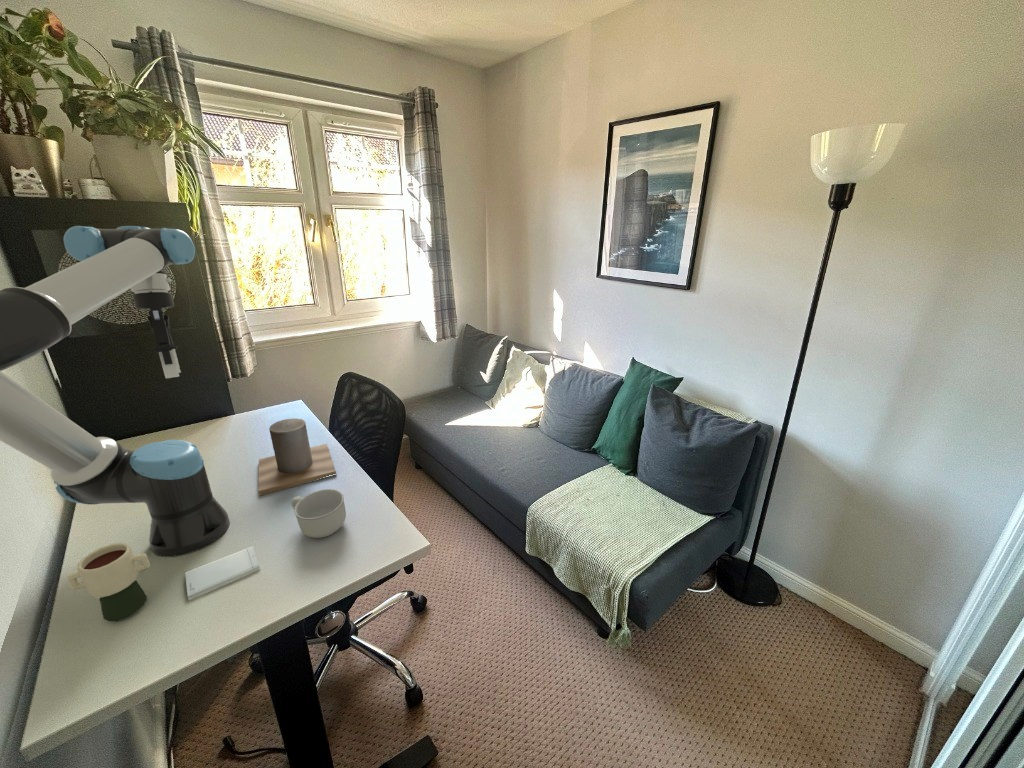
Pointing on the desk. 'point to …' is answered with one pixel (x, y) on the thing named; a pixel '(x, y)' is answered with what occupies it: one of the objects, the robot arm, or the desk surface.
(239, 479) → the desk surface
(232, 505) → the desk surface
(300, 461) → the pillar candle
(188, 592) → the hard drive
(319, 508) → the teacup
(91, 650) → the desk surface
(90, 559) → the character mug
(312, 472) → the wooden board
